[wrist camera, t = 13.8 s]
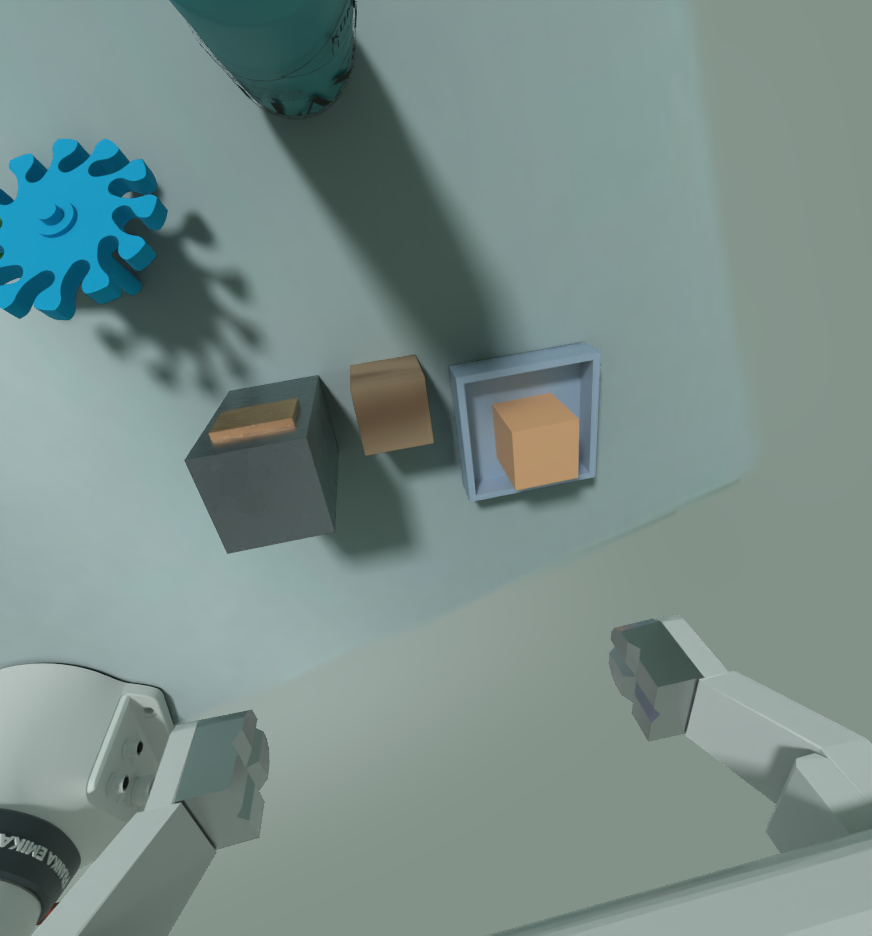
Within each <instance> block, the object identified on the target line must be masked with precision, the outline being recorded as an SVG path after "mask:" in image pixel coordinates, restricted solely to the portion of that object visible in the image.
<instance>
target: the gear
mask: <svg viewBox="0 0 872 936" xmlns="http://www.w3.org/2000/svg"><path fill="white" fill-rule="evenodd" d="M9 168H10V170H11V171H12V172H13V173H14V174H15V175H16V177H17V179H18V195H17V198H16V199H15V201H14V200H13V199H12V198H11V197H10V196H9V195H7V194H6V193H5V192H4V191H3V190H1V189H0V308H2V309H4V310H5V311H7V312H9V313H10V314H12V315H14V316H15V317H17V318H19V319H20V318H22V317H24V316H26V315H27V314H28V313H29V311H30V309H31V307H32V305H33V303H34V307H35V308H36V309H38V310H39V311H41V312H43V313H44V314H46V315H47V316H49V317H51V318H53V319H57V320H70V319H71V318H72V317H73V315H74V314H75V309H76V308H75V296H76V292H77V289H78V287H79V285H80V284H81V282H82V280H83V279H84V280H83V282H82V290H83V292H84V293H85V294H86V295H88V296H89V297H90V298H92V299H93V300H94V301H96V302H97V303H98V304H103V303H107V302H110V301H112V300H115V299H117V298H119V297H121V294H122V290H123V291H125V292H126V293H127V294H129V295H135V294H137V293H138V292H139V291H140V290H141V288H142V284H141V282H140V281H139V280H138V279H136V278H135V277H134V276H133V275H132V274H131V273H130V272H129V271H128V270H127V269H126V268H124V267H123V266H122V265H121V264H120V263H119V262H118V261H117V260H116V259H115V258H113V257H112V256H111V255H112V253H113V252H114V251H115V250H116V249H118V252H119V255H120V256H121V257H122V258H123V259H124V260H125V261H126V262H127V263H128V264H129V265H130V266H131V267H132V268H133V269H135V270H137V271H141V270H143V269H144V268H145V267H147V266H148V265H149V264H150V263H151V262H152V261H153V260H154V258H155V257H156V256H157V255H156V253H155V251H154V250H153V249H152V248H151V247H150V246H149V245H148V244H147V243H146V242H145V241H144V239H142V238H141V237H139V236H133V235H129V234H126V233H125V231H124V226H125V224H126V223H127V222H128V221H129V220H131V219H134V218H139V219H140V220H141V221H142V222H143V223H144V224H145V225H146V226H147V228H149V229H151V230H159V229H161V228H162V226H163V225H164V222H165V220H166V217H167V212H168V210H167V209H166V208H165V206H164V205H163V204H162V203H161V201H160V200H159V199H158V198H157V197H156V196H154V195H144V196H141V197H138V198H130V199H128V198H121V197H122V196H123V195H124V194H125V193H127V192H130V191H134V192H137V193H140V194H150V193H152V192H154V191H155V190H156V189H157V183H156V179H155V177H154V175H153V173H152V171H151V170H150V169H149V168H148V166H147V165H146V164H145V162H144V161H143V160H142V159H137V160H133V161H131V162H129V160H128V159H127V158H126V157H125V155H124V154H123V153H122V152H121V150H120V149H119V148H118V147H117V146H116V145H115V144H114V143H113V142H111V141H109V140H107V139H104V140H102V141H100V142H99V143H98V144H97V145H96V147H95V149H94V151H93V153H92V154H91V156H90V155H89V154H88V153H87V152H86V151H85V150H84V148H83V147H82V146H81V145H80V144H79V143H78V142H77V141H75V140H71V139H58V140H57V141H56V142H55V143H54V145H53V160H52V163H51V166H50V168H49V169H48V171H47V169H46V168H45V167H44V166H43V165H42V164H41V163H40V162H39V161H38V160H37V159H36V158H35V157H34V156H33V155H32V154H25V155H22V156H19V157H17V158H15V159H13V160H10V163H9ZM109 174H110V175H109ZM85 276H86V277H85ZM84 277H85V278H84ZM16 278H21V279H20V280H19V281H17V282H15V283H12V284H6V283H8V282H9V281H11V280H14V279H16ZM4 284H6V285H4Z"/></svg>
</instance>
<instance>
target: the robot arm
mask: <svg viewBox="0 0 872 936" xmlns="http://www.w3.org/2000/svg"><path fill="white" fill-rule="evenodd" d="M611 641H612V642H613V644H614V646H615V647H614V648H613V649H612V650H611V652H610V653H609V665H610V670H611V674H612V677H613V679H614V682H615V684H616V686H617V688H618V690H619V691H620V693H621V695H622V696H624V697H626V698H627V699H629V700H630V701H632V702H633V708H632V714H633V716H634V717H635V719H636V721H637V723H638V724H639V726H640V728H641V730H642V731H643V733H644V735H645V736H646V738H647V740H648V741H652V740H657V739H661V738H666V737H671V736H676V735H680V734H685V733H686V736H687V737H688V738H690V739H691V740H692V741H694V742H695V743H696V744H697V745H699V746H700V747H701V748H703V749H704V750H705V751H707V752H708V753H709V754H711V755H712V756H713V757H715V758H716V759H717V760H719V761H720V762H721V763H722V764H724V765H725V766H726V767H728V768H729V769H731V770H732V771H733V772H734V773H736V774H737V775H738V776H740V777H741V778H742V779H744V780H745V781H746V782H748V783H749V784H750V785H752V786H753V787H754V788H756V789H757V790H758V791H760V792H761V793H762V794H763V795H765V796H766V797H767V798H769V799H770V800H771V801H773V802H774V803H775V804H776V805H775V808H774V810H773V812H772V814H771V817H770V819H769V821H768V824H767V829H766V832H767V834H768V836H769V837H770V839H771V840H772V842H773V843H774V845H775V846H776V847H777V849H778V850H779V852H780V853H781V854H777V855H774V856H770V857H767V858H763V859H760V860H756V861H752V862H749V863H745V864H741V865H738V866H734V867H731V868H727V869H723V870H720V871H716V872H713V873H709V874H706V875H702V876H698V877H695V878H691V879H688V880H684V881H681V882H677V883H673V884H670V885H666V886H663V887H659V888H655V889H652V890H648V891H644V892H641V893H638V894H634V895H630V896H626V897H623V898H619V899H616V900H612V901H608V902H605V903H601V904H598V905H594V906H591V907H587V908H583V909H580V910H576V911H573V912H569V913H565V914H562V915H558V916H555V917H551V918H547V919H544V920H540V921H537V922H533V923H530V924H526V925H523V926H519V927H515V928H512V929H508V930H504V931H501V932H497V933H494V934H490V935H487V936H872V744H871V743H870V742H869V741H868V740H867V739H866V738H864V737H862V736H860V735H858V734H856V733H854V732H852V731H850V730H849V729H847V728H845V727H843V726H841V725H839V724H837V723H835V722H833V721H831V720H829V719H827V718H825V717H823V716H822V715H819V714H818V713H815V712H814V711H812V710H810V709H808V708H806V707H804V706H802V705H800V704H798V703H796V702H794V701H792V700H790V699H789V698H786V697H785V696H783V695H781V694H779V693H777V692H775V691H773V690H771V689H769V688H767V687H765V686H763V685H761V684H759V683H758V682H756V681H754V680H752V679H750V678H748V677H746V676H744V675H742V674H740V673H738V672H736V671H731V672H728V671H727V670H726V668H725V667H724V666H723V665H722V664H721V662H720V661H719V660H718V659H717V658H716V657H715V655H714V654H713V653H712V652H711V651H710V650H709V648H708V647H707V646H706V645H705V644H704V643H703V641H702V640H701V639H700V638H699V637H698V636H697V634H696V633H695V632H694V631H693V630H692V628H691V627H690V626H689V625H688V624H687V623H686V621H685V620H684V619H683V618H682V617H681V616H679V615H677V614H675V615H669V616H665V617H661V618H656V619H650V620H645V621H641V622H637V623H633V624H629V625H624V626H620V627H616V628H614V629H613V631H612V632H611ZM256 723H257V718H256V716H255V714H254V712H253V710H248V711H243V712H238V713H233V714H228V715H223V716H218V717H213V718H208V719H202V720H198V721H193V722H188V723H184V724H179V725H176V727H175V728H174V725H173V722H172V719H171V716H170V713H169V710H168V707H167V704H166V701H165V698H164V695H163V693H162V692H161V691H160V690H159V689H157V688H154V687H150V686H145V685H139V684H131V683H125V682H121V681H118V680H116V679H113V678H111V677H108V676H106V675H103V674H101V673H98V672H95V671H92V670H88V669H85V668H80V667H76V666H70V665H62V664H47V663H39V664H24V665H17V666H12V667H8V668H4V669H0V936H168V934H169V932H170V931H171V929H172V927H173V926H174V924H175V922H176V920H177V919H178V917H179V915H180V914H181V912H182V910H183V909H184V907H185V905H186V904H187V902H188V900H189V898H190V897H191V895H192V893H193V892H194V890H195V888H196V887H197V885H198V883H199V881H200V880H201V878H202V876H203V875H204V873H205V871H206V869H207V868H208V866H209V865H210V863H211V861H212V859H213V858H214V856H215V854H216V851H215V850H217V849H221V848H224V847H228V846H231V845H235V844H238V843H242V842H245V841H249V840H253V839H257V838H259V835H260V829H261V822H262V814H263V808H264V800H263V798H262V796H261V794H260V792H259V790H260V789H261V787H262V786H263V785H264V783H265V781H266V780H267V779H268V772H269V771H268V770H269V747H268V743H267V738H266V736H265V734H264V732H263V731H261V730H259V729H257V728H256ZM93 861H95V862H94V863H93V864H92V865H91V866H90V868H89V869H88V870H87V871H86V872H85V873H84V875H83V876H82V877H81V878H80V879H79V880H78V882H77V883H76V884H75V885H74V886H73V888H72V889H71V890H70V891H69V892H68V893H67V894H66V896H65V897H64V898H63V899H62V900H61V901H60V902H58V903H55V902H56V901H57V899H58V898H59V897H60V895H61V894H62V892H63V891H64V889H65V888H66V887H67V885H68V884H69V882H70V881H71V879H72V878H73V876H74V875H75V873H76V872H77V871H78V869H80V868H82V867H84V866H86V865H88V864H89V863H91V862H93ZM40 924H41V925H40ZM36 925H40V926H39V927H38V928H37V930H36V931H35V932H34V933H33V930H34V928H35V926H36ZM32 933H33V934H32Z"/></svg>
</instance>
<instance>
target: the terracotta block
mask: <svg viewBox="0 0 872 936" xmlns="http://www.w3.org/2000/svg"><path fill="white" fill-rule="evenodd" d="M492 410H493V422H494V433H495V445H496V456H497V459H498V461H499V462H500V464H501V466H502V468H503V469H504V471H505V473H506V475H507V476H508V478H509V480H510V482H511V483H512V485H513V487H514V488H515V490H516V491H517V490H521V489H526V488H531V487H536V486H541V485H546V484H550V483H555V482H560V481H565V480H570V479H575V478H578V462H579V419H578V418H577V417H576V416H575V415H574V414H573V413H572V412H571V411H570V410H569V409H568V408H567V407H566V406H565V405H564V404H563V403H561V402H560V401H559V400H558V399H557V398H556V397H555V396H554V395H553V394H552V393H547V394H542V395H536V396H531V397H526V398H521V399H516V400H511V401H505V402H500V403H495V404H492Z"/></svg>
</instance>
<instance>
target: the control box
mask: <svg viewBox="0 0 872 936" xmlns="http://www.w3.org/2000/svg"><path fill="white" fill-rule="evenodd" d="M338 458H339V451H338V447H337V443H336V440H335V436H334V432H333V428H332V425H331V421H330V417H329V414H328V410H327V406H326V402H325V399H324V395H323V391H322V387H321V384H320V380H319V376H318V375H317V376H312V377H306V378H300V379H295V380H289V381H283V382H278V383H272V384H267V385H261V386H255V387H250V388H244V389H239V390H233V391H229V393H228V394H227V396H226V397H225V399H224V400H223V402H222V403H221V405H220V407H219V408H218V410H217V411H216V413H215V414H214V416H213V417H212V419H211V420H210V422H209V423H208V425H207V426H206V428H205V430H204V431H203V433H202V434H201V436H200V437H199V439H198V440H197V442H196V443H195V445H194V446H193V448H192V450H191V451H190V453H189V454H188V456H187V457H186V459H185V460H184V461H185V463H186V465H187V467H188V469H189V472H190V474H191V476H192V478H193V480H194V482H195V485H196V487H197V489H198V491H199V493H200V495H201V498H202V500H203V502H204V504H205V506H206V508H207V511H208V513H209V515H210V517H211V519H212V521H213V524H214V526H215V528H216V530H217V532H218V534H219V537H220V539H221V541H222V543H223V545H224V547H225V550H226V552H227V554H229V553H233V552H238V551H243V550H248V549H253V548H258V547H263V546H268V545H273V544H278V543H283V542H288V541H293V540H298V539H303V538H308V537H313V536H318V535H323V534H328V533H333V532H335V518H336V498H337V478H338Z"/></svg>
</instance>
